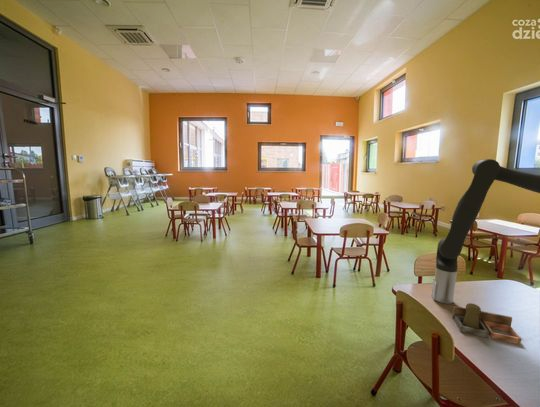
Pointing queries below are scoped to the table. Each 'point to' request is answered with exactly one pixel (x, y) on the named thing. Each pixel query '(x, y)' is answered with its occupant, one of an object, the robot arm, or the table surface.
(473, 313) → the cork
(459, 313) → the shaker rack
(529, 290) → the table surface
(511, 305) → the table surface
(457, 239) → the robot arm
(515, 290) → the table surface
